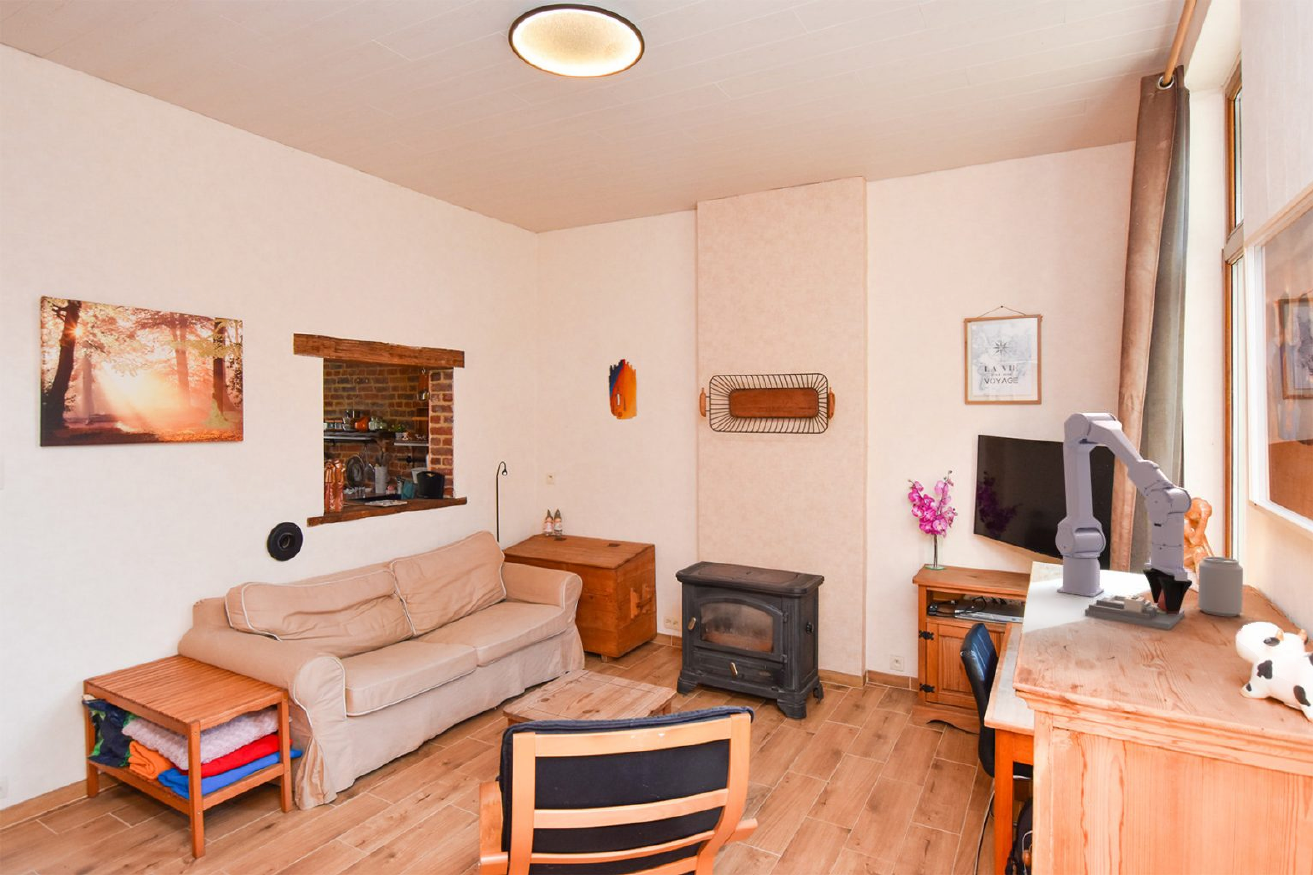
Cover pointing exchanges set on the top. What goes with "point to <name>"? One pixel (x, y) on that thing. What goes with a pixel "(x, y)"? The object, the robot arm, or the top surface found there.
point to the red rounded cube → (1162, 603)
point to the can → (1220, 586)
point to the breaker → (1135, 604)
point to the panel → (1133, 613)
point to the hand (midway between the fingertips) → (1166, 606)
